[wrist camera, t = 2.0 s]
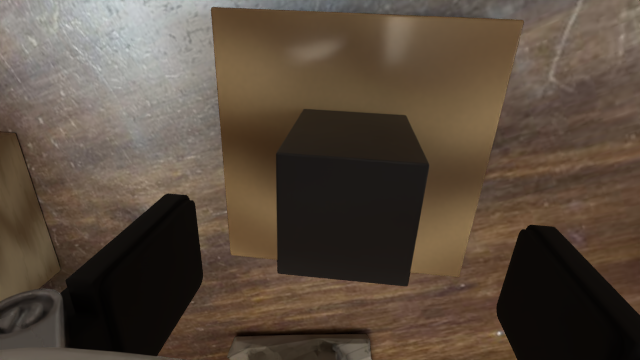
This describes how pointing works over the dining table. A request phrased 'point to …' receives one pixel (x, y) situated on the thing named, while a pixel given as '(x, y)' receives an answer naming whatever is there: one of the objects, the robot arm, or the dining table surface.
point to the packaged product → (301, 347)
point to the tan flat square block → (361, 107)
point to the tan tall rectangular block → (21, 226)
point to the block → (349, 196)
